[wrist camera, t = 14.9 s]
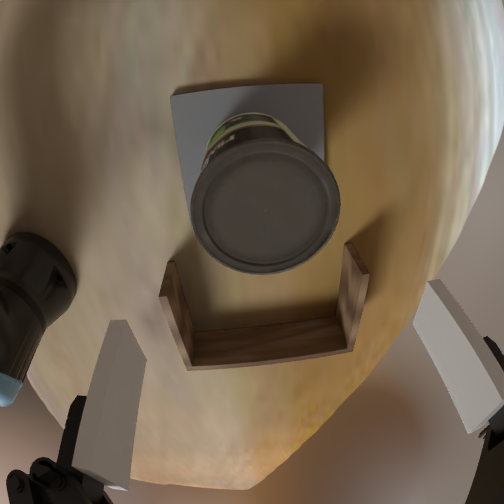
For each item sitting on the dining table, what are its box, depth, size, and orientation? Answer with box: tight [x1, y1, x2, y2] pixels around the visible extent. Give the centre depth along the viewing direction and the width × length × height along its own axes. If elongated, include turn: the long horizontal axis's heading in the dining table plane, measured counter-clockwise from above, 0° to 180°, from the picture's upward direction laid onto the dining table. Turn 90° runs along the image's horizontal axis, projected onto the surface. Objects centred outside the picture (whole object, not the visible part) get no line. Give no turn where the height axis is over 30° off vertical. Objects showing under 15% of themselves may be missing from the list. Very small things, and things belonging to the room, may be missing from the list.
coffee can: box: [190, 112, 341, 275], centre depth 26 cm, size 10×10×14 cm
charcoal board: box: [170, 83, 324, 229], centre depth 32 cm, size 16×16×1 cm
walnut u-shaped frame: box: [159, 243, 370, 371], centre depth 41 cm, size 15×25×7 cm, turn 95°
